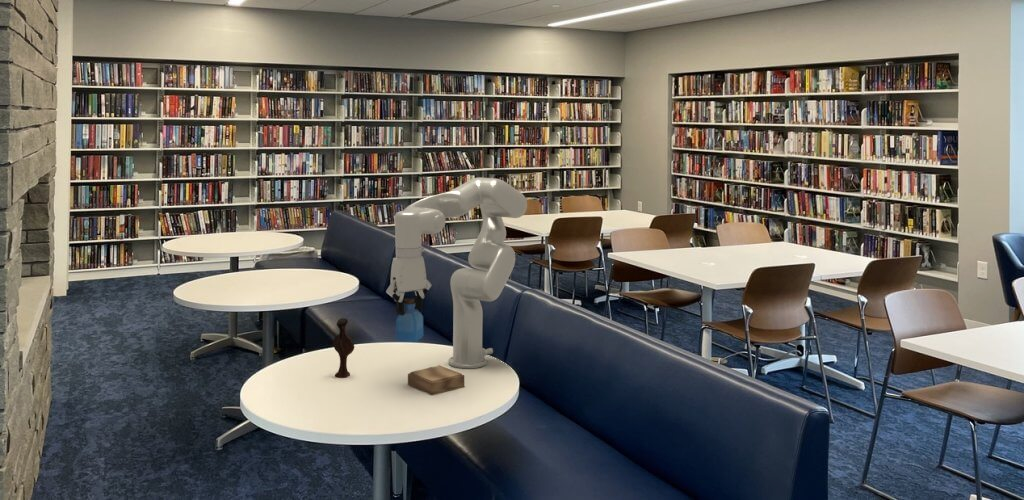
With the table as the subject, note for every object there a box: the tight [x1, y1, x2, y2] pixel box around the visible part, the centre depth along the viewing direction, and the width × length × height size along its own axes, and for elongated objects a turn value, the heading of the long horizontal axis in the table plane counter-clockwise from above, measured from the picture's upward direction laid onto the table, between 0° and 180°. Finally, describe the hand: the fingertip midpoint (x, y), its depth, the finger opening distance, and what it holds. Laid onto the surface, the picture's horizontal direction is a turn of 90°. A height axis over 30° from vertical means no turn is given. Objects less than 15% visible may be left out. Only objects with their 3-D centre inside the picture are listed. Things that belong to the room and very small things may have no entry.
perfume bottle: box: [395, 297, 424, 343], centre depth 235 cm, size 6×6×12 cm
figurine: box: [332, 317, 355, 379], centre depth 243 cm, size 7×5×18 cm
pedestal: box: [407, 365, 465, 396], centre depth 236 cm, size 12×12×4 cm
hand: (409, 312), depth 235 cm, fingers closed on perfume bottle, 5 cm apart
